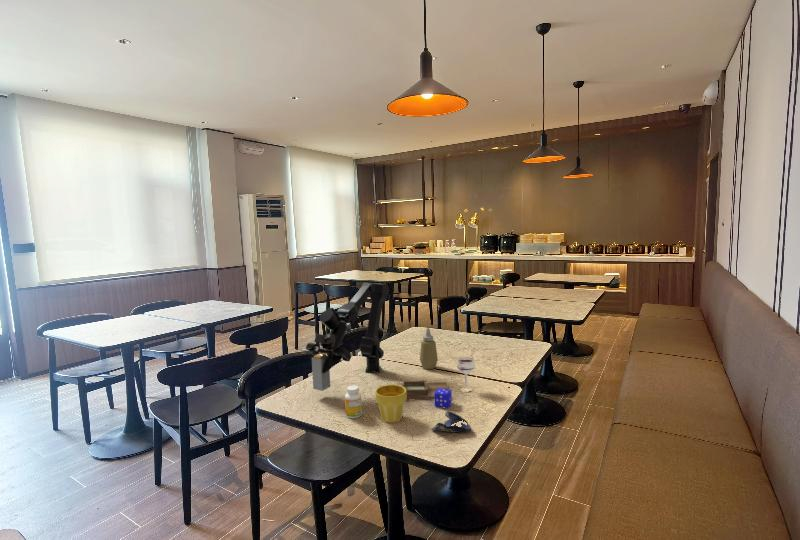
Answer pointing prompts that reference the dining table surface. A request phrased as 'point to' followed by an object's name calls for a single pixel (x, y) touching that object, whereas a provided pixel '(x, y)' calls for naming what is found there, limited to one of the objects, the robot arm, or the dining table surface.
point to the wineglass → (466, 366)
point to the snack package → (452, 419)
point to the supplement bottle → (353, 402)
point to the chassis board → (422, 389)
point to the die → (442, 398)
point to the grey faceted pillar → (320, 372)
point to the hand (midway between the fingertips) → (318, 371)
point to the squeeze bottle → (428, 351)
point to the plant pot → (391, 402)
